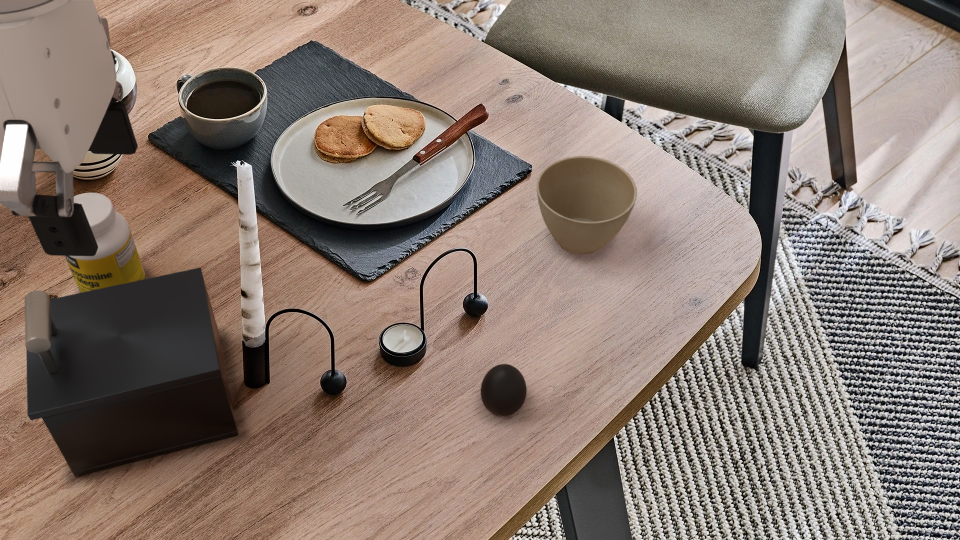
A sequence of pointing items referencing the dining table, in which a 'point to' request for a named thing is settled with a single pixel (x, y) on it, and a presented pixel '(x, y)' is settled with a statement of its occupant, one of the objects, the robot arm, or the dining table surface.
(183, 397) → the compartment
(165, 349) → the lid
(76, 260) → the pill bottle
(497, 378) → the egg
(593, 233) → the tan bowl
